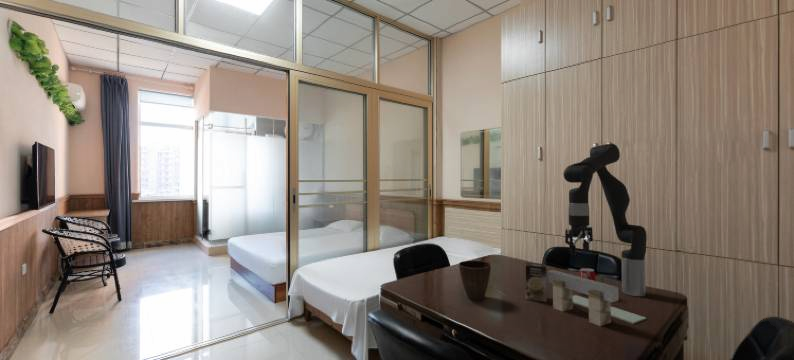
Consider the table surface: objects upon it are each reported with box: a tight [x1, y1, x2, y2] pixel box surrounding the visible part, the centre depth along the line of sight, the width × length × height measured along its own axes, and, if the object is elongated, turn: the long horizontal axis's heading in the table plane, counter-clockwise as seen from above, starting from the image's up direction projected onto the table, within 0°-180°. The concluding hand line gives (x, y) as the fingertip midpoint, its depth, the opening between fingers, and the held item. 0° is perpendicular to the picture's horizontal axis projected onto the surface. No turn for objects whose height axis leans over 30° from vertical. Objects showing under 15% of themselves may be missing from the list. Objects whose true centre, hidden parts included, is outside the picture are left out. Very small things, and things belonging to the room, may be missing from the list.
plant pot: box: [458, 260, 492, 301], centre depth 158 cm, size 15×15×16 cm
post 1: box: [552, 279, 574, 313], centre depth 143 cm, size 7×4×12 cm, turn 117°
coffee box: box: [525, 262, 548, 303], centre depth 156 cm, size 9×6×16 cm
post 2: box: [587, 290, 612, 327], centre depth 129 cm, size 7×4×12 cm, turn 117°
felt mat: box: [573, 294, 647, 324], centre depth 143 cm, size 9×30×1 cm, turn 27°
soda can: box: [578, 267, 597, 297], centre depth 160 cm, size 7×7×12 cm
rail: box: [546, 269, 619, 303], centre depth 136 cm, size 4×28×5 cm, turn 27°
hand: (579, 253), depth 136 cm, fingers open, 8 cm apart
